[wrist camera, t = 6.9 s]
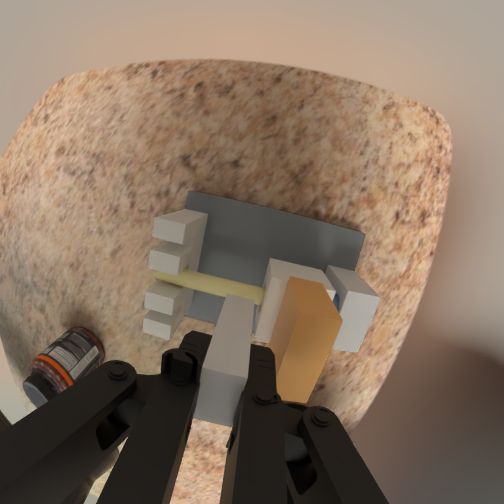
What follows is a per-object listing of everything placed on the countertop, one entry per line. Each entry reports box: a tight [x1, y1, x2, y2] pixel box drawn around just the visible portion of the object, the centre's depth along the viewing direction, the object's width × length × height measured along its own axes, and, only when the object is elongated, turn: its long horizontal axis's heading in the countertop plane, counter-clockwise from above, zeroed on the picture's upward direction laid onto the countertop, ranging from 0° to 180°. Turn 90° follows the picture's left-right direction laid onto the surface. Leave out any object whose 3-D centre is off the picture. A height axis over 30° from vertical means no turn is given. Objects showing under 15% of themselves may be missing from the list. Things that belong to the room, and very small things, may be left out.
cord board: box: [143, 191, 381, 353], centre depth 20 cm, size 15×11×8 cm
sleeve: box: [254, 258, 343, 403], centre depth 16 cm, size 4×5×9 cm
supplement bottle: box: [23, 327, 104, 408], centre depth 22 cm, size 6×6×11 cm
